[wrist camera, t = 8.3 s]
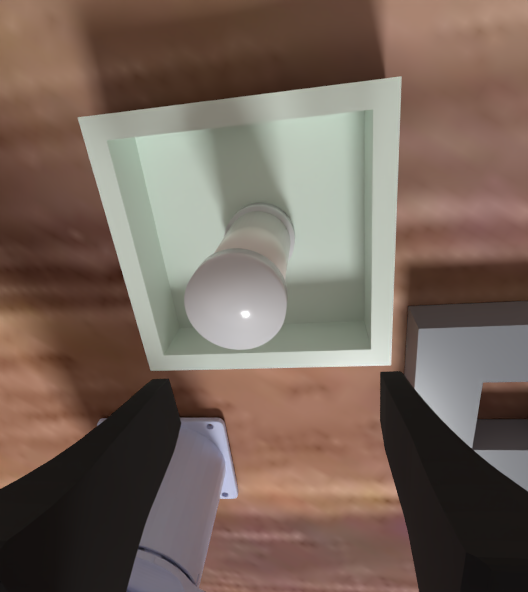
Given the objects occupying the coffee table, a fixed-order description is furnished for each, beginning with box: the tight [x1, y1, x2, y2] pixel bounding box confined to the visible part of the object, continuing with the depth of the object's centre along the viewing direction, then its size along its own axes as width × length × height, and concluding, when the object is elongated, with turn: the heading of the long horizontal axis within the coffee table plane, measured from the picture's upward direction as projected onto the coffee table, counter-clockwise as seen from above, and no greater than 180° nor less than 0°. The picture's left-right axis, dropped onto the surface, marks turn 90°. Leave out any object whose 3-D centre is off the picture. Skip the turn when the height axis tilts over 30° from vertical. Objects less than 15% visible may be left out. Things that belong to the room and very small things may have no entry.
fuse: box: [184, 202, 295, 350], centre depth 17 cm, size 4×4×8 cm
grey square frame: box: [404, 301, 528, 491], centre depth 23 cm, size 12×12×2 cm
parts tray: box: [78, 77, 401, 371], centre depth 20 cm, size 13×13×4 cm
